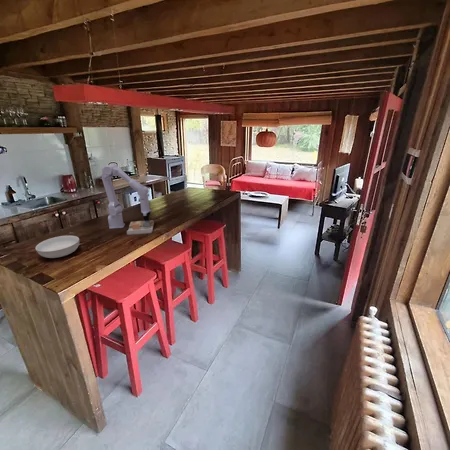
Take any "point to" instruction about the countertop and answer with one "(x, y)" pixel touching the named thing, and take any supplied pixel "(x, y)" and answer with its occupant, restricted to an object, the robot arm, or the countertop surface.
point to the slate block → (146, 223)
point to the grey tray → (142, 230)
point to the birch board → (141, 223)
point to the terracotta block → (136, 226)
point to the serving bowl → (58, 246)
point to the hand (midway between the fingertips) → (147, 222)
